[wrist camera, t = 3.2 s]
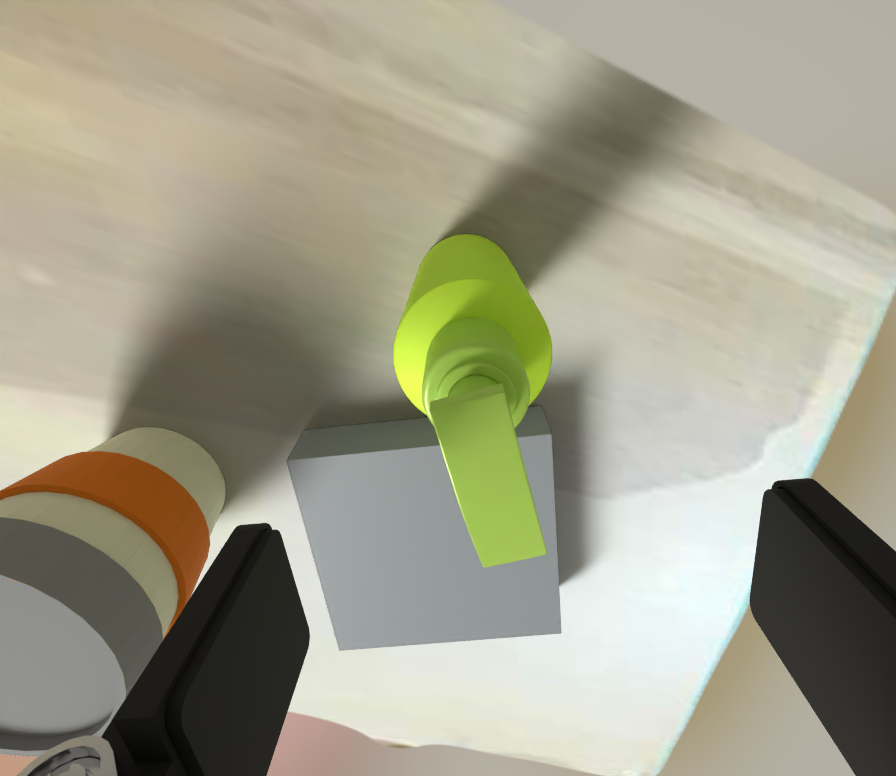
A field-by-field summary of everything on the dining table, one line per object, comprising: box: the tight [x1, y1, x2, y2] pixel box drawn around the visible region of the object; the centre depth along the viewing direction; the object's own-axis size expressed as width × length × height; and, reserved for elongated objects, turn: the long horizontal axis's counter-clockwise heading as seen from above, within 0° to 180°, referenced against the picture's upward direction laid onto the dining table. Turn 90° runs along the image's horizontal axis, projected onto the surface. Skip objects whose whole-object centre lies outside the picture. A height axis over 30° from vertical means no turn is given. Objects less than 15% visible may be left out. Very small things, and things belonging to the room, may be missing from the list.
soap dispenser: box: [393, 234, 552, 567], centre depth 22 cm, size 6×7×20 cm
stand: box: [287, 406, 561, 651], centre depth 36 cm, size 16×16×4 cm
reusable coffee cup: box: [0, 427, 226, 756], centre depth 30 cm, size 13×13×15 cm
